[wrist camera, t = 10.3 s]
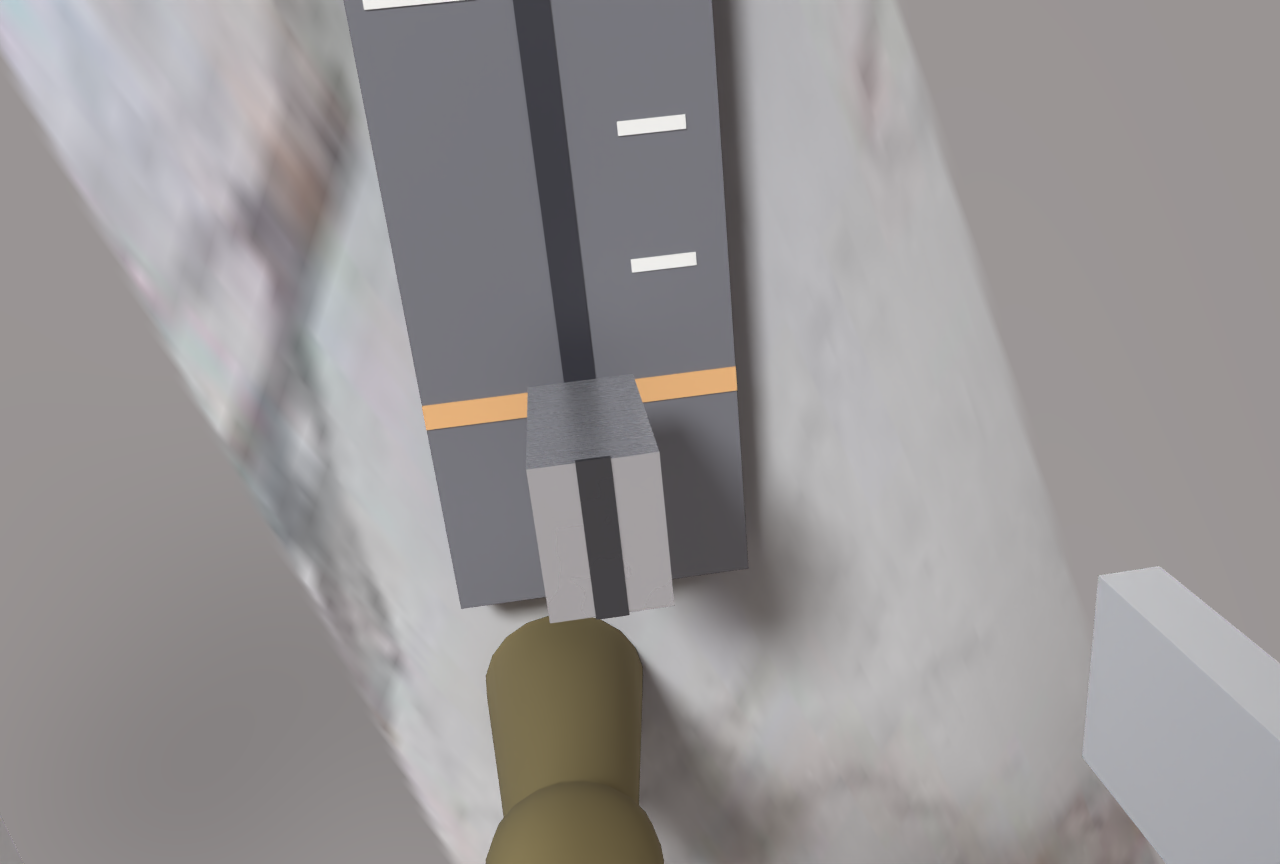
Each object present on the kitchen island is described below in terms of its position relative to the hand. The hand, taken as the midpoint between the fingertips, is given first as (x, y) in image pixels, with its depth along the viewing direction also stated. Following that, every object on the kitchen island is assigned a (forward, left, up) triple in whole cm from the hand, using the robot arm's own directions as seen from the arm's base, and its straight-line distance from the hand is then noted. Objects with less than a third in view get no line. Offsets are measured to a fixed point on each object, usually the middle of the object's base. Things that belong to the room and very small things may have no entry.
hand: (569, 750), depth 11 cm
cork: (+14, -1, -21) cm, 26 cm away
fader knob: (+3, +1, -19) cm, 19 cm away
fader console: (-2, +1, -21) cm, 21 cm away
